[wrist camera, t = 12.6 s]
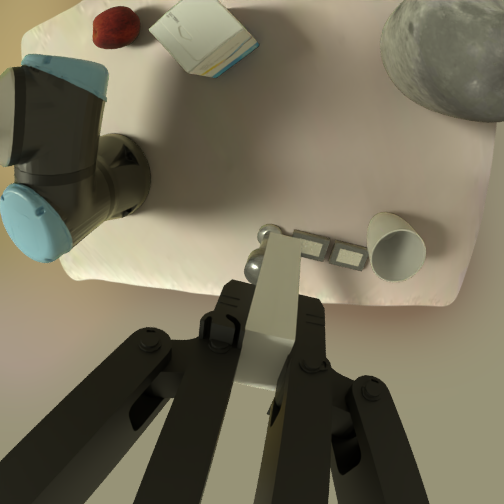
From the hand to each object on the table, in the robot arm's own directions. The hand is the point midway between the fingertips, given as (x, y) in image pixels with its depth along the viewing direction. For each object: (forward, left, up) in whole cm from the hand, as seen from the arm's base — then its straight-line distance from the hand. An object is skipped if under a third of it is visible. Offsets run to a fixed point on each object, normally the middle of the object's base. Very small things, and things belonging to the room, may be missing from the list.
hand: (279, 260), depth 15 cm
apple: (-30, +16, -33) cm, 47 cm away
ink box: (-14, +14, -33) cm, 38 cm away
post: (-1, -15, -32) cm, 36 cm away
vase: (+15, +19, -33) cm, 41 cm away
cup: (+16, -9, -33) cm, 38 cm away
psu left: (+6, -15, -32) cm, 36 cm away
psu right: (+12, -15, -32) cm, 38 cm away
